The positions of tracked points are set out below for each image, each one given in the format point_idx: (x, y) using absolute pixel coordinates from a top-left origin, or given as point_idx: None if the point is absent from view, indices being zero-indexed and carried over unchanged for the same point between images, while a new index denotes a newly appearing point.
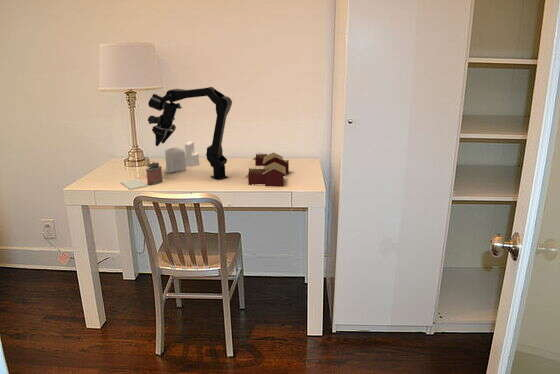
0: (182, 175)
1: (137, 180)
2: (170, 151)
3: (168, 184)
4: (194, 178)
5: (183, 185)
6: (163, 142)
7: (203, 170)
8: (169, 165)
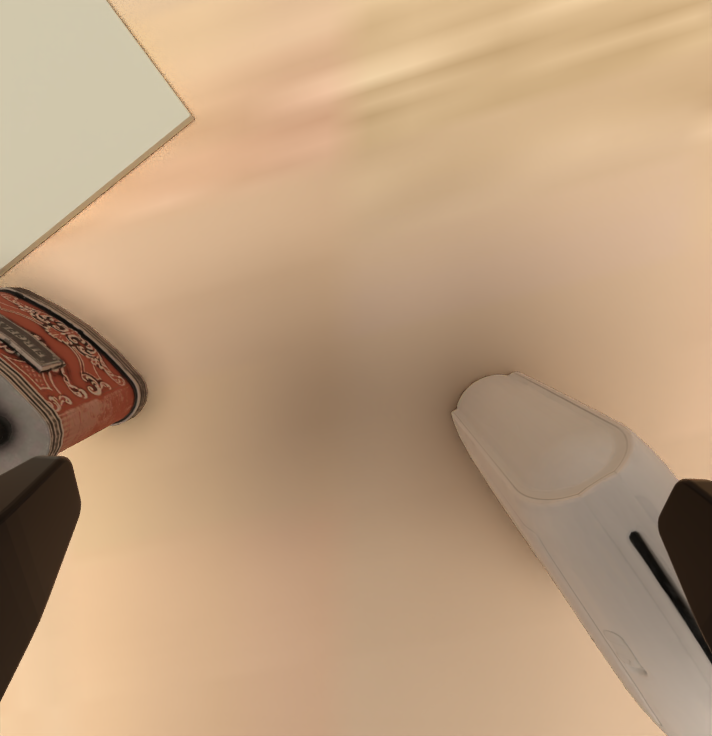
0: (360, 564)
1: (116, 139)
2: (566, 567)
3: None
4: (252, 693)
5: None
6: (678, 547)
7: (541, 728)
8: (470, 448)
